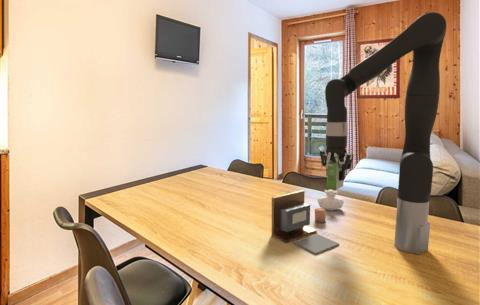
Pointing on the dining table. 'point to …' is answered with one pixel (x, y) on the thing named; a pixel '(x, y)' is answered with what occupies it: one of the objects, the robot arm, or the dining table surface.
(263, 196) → the dining table surface
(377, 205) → the dining table surface
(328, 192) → the bust
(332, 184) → the ink box
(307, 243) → the mat
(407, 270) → the dining table surface
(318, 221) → the brown egg
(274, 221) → the open brown box
